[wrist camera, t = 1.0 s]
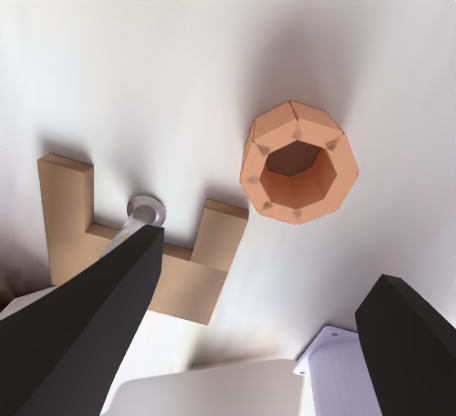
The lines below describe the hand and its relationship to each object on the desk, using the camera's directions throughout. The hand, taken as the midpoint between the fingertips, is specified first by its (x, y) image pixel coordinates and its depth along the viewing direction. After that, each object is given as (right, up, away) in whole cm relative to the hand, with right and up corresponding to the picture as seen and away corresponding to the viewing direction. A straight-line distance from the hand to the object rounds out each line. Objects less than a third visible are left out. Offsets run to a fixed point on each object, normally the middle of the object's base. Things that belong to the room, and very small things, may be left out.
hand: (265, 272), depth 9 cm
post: (-7, +2, +11) cm, 13 cm away
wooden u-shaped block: (-8, -1, +13) cm, 15 cm away
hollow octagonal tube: (+2, +6, +7) cm, 10 cm away
